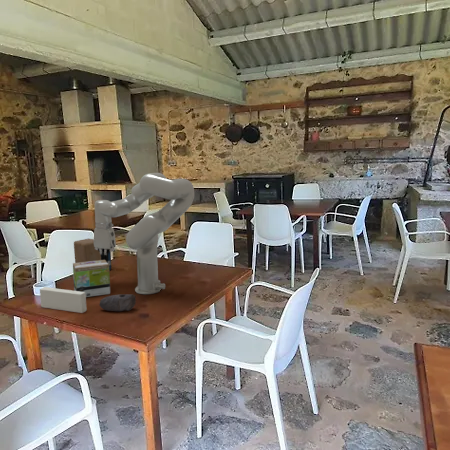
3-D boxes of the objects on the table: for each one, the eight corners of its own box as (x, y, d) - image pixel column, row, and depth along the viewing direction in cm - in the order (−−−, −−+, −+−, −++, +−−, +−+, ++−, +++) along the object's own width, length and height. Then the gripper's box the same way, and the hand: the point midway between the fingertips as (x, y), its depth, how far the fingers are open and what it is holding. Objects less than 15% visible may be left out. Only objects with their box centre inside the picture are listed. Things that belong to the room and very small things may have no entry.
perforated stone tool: (97, 312, 165) (96, 296, 164) (102, 307, 170) (101, 292, 169) (133, 313, 164) (132, 297, 163) (136, 308, 169) (136, 292, 168)
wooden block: (86, 281, 204) (83, 243, 201) (75, 278, 210) (72, 241, 207) (103, 276, 212) (100, 240, 209) (91, 273, 218) (89, 237, 215)
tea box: (77, 299, 180) (74, 268, 177) (74, 292, 188) (71, 262, 186) (111, 294, 186) (109, 263, 184) (106, 287, 195) (104, 258, 192)
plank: (86, 310, 167) (85, 292, 166) (82, 313, 164) (80, 294, 163) (46, 304, 174) (44, 287, 172) (41, 307, 171) (39, 289, 170)
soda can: (96, 270, 223) (94, 250, 221) (105, 267, 229) (103, 247, 227) (105, 272, 220) (103, 251, 218) (114, 269, 226) (112, 248, 224)
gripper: (121, 225, 194) (122, 261, 198) (95, 223, 199) (96, 258, 202) (112, 228, 187) (113, 265, 191) (85, 225, 192) (87, 262, 195)
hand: (105, 261), depth 197 cm, fingers closed
